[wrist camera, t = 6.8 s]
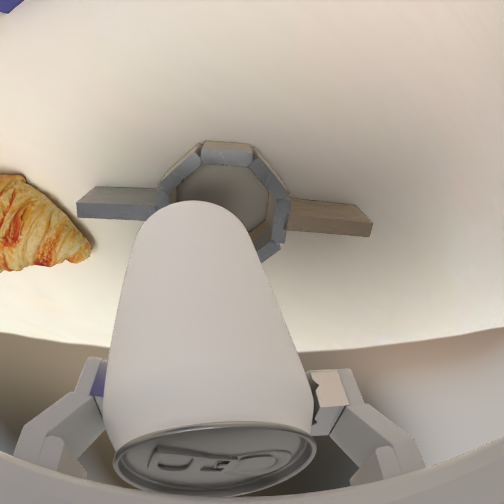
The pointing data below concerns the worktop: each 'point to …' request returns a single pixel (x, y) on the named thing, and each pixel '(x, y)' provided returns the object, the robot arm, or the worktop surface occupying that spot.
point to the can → (203, 363)
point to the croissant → (35, 229)
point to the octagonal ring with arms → (307, 211)
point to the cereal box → (8, 5)
